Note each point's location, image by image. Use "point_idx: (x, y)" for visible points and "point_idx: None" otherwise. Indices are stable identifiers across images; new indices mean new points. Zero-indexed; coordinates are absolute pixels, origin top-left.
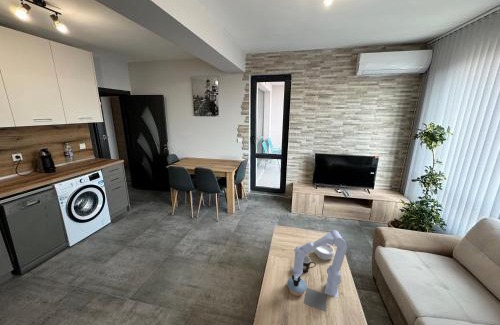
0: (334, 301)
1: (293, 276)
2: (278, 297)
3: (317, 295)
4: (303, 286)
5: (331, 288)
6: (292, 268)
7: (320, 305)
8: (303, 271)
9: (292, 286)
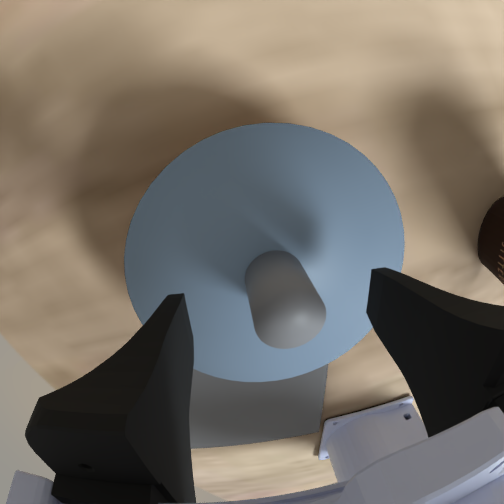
0: (287, 455)
1: (102, 459)
2: (47, 104)
3: (282, 402)
4: (279, 352)
5: (339, 480)
6: (448, 497)
7: (203, 429)
8: (490, 245)
9: (196, 234)
